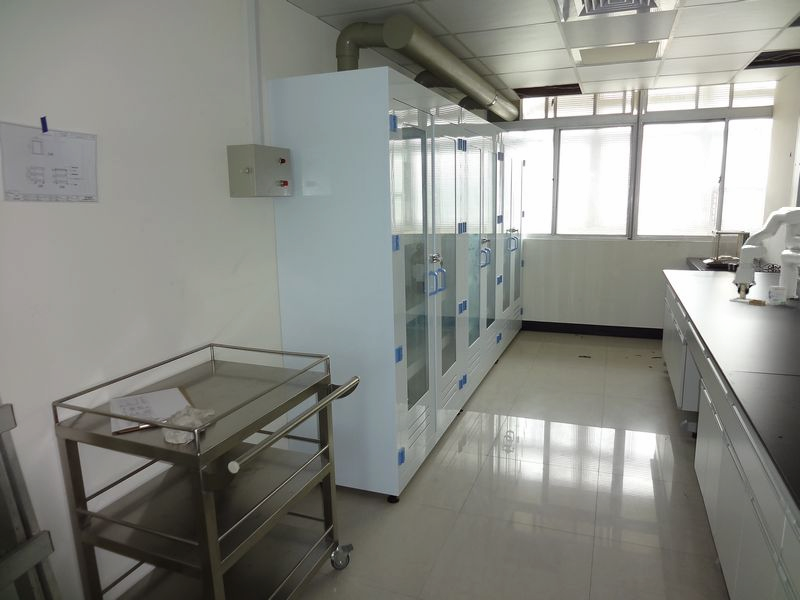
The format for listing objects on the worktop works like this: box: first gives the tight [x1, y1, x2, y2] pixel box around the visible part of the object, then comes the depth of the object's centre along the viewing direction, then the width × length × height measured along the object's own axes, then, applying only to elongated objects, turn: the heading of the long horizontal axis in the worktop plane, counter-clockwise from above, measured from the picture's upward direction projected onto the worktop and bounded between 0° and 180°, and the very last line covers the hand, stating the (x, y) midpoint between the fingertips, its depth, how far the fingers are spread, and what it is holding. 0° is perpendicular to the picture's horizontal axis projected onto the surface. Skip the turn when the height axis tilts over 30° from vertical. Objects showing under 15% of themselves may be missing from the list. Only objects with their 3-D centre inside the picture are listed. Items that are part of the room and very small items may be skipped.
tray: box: [729, 296, 756, 304], centre depth 349 cm, size 12×11×2 cm
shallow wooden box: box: [748, 298, 767, 307], centre depth 338 cm, size 7×7×3 cm
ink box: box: [766, 285, 788, 306], centre depth 337 cm, size 9×5×12 cm, turn 84°
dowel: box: [739, 283, 747, 299], centre depth 348 cm, size 3×3×10 cm
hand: (743, 293), depth 348 cm, fingers closed on dowel, 3 cm apart
